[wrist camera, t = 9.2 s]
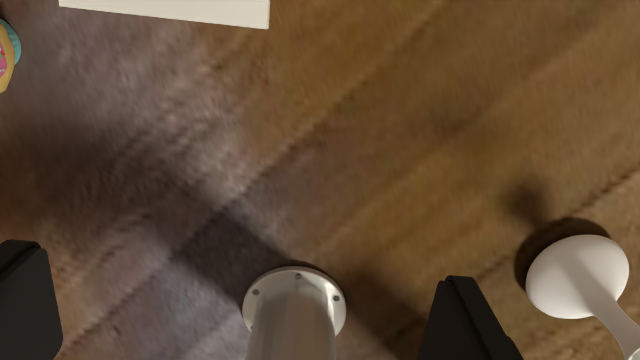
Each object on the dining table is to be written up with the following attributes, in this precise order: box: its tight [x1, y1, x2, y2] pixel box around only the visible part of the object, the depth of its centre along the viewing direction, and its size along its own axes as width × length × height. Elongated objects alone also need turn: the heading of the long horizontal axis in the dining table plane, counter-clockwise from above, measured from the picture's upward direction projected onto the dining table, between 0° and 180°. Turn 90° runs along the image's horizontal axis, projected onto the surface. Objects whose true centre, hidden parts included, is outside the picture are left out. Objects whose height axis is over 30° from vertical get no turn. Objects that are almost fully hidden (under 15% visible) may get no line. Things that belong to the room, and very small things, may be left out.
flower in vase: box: [526, 235, 640, 360], centre depth 38 cm, size 13×11×25 cm
